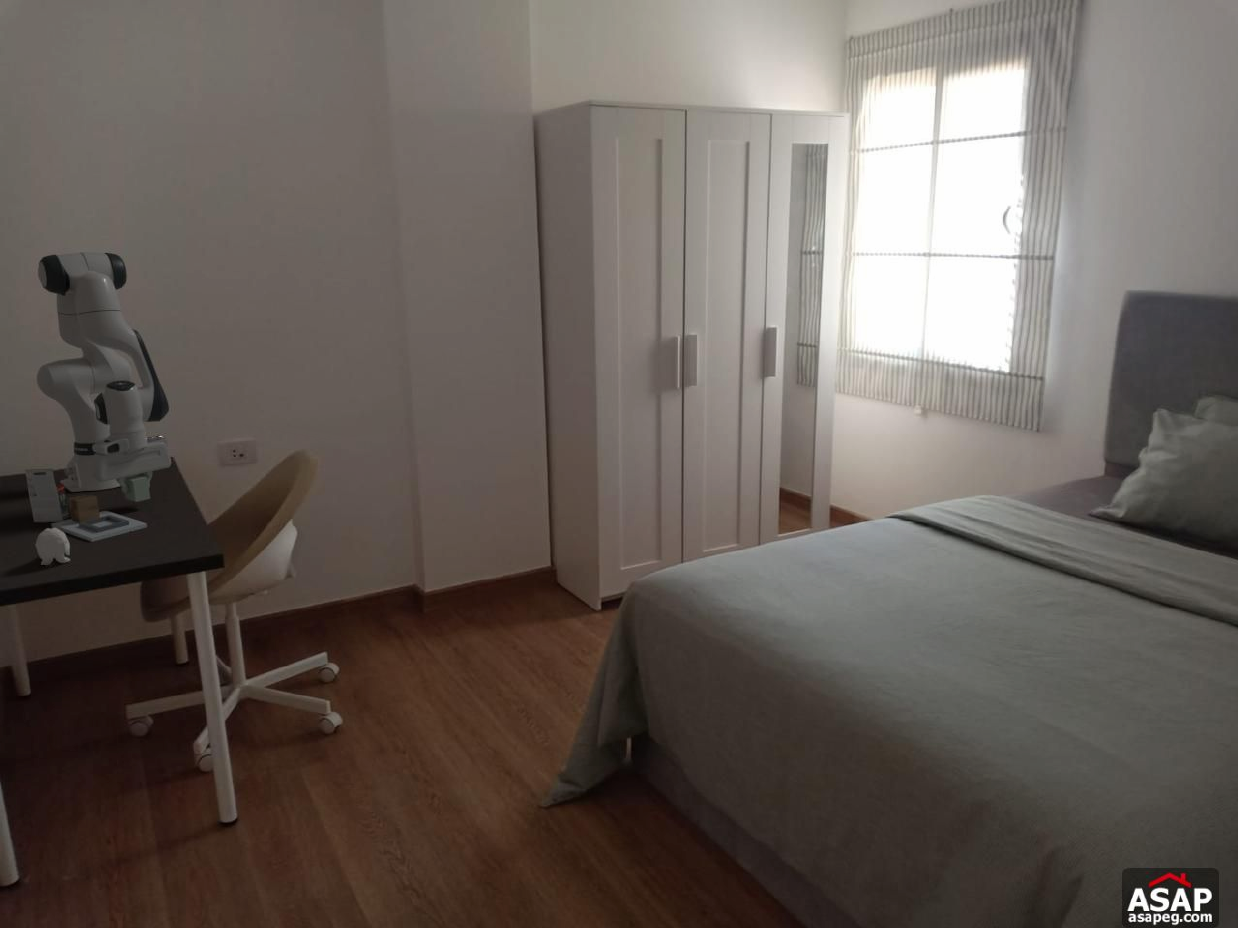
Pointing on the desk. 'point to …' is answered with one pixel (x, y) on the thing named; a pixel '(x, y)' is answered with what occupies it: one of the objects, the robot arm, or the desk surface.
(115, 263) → the robot arm
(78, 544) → the desk surface
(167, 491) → the desk surface
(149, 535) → the desk surface
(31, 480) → the ink box
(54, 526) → the board
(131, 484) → the sage block
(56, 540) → the white animal figurine
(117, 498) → the desk surface
